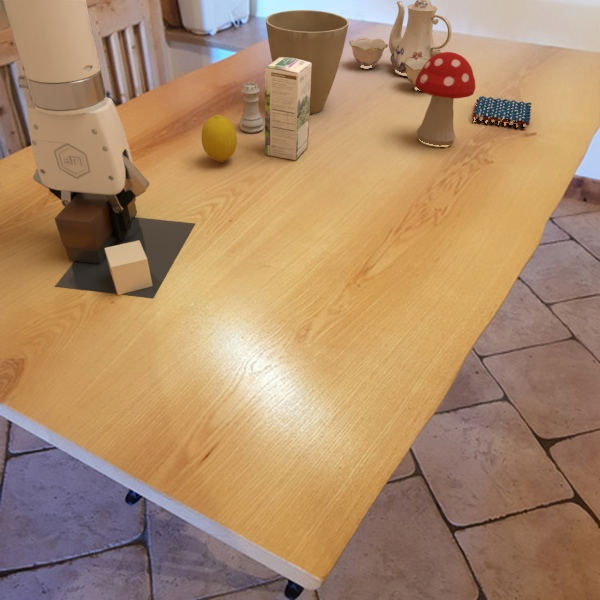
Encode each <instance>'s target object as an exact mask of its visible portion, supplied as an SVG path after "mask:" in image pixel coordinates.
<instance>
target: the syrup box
mask: <svg viewBox="0 0 600 600" xmlns="http://www.w3.org/2000/svg"><path fill="white" fill-rule="evenodd" d="M271 62H272V61H271ZM311 67H312V63H310V62H307V61H304V60H300V59H295V58H286V57H279V58H278V59H277V60H275V61H274V62H272V63H270V64H268V65H267V66H265V67H264V154H265V155H266V156H269V157H275V158H281V159H284V160H285V159H286V160H292V161H297V160H298V159H299V158H300V156H301V155H303V154H304V152H305V151H306V150H307V149H308V147H309V132H310V114H309V113H310V90H311Z"/></svg>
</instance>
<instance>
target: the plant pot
mask: <svg viewBox="0 0 600 600" xmlns="http://www.w3.org/2000/svg"><path fill="white" fill-rule="evenodd" d="M349 23H350V22H349V20H348V19H347V18H345V17H344V16H342V15H339V14H336V13H334V12H333V13H332V12H328V11H322V10H314V9H313V10H312V9H295V10H294V9H293V10H284V11H279V12H274V13H272V14H270V15H268V16H267V17H266V18H265V26H266V32H267V40H268V47H269V53H270V58H271V62H274V61H275V60H277V59H278V58H279V57H286V58H295V59H300V60H304V61H307V62H310V63H312V67H311V90H310V113H309V115H314V114H318V113H320V112H321V111H322V110H323V109H324V106H325V104H326V103H327V100H328V98H329V95H330V92H331V90H332V87H333V84H334V83H335V79H336V75H337V73H338V69H339V66H340V63H341V59H342V55H343V51H344V47H345V43H346V39H347V33H348V27H349V25H350V24H349Z"/></svg>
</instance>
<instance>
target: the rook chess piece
mask: <svg viewBox="0 0 600 600" xmlns="http://www.w3.org/2000/svg"><path fill="white" fill-rule="evenodd" d="M240 90H241V93H242V94H243V98H242V101H243V114H242V115H241V118H240V121H239V123H240V125H239V128H240V130H241V131H242V132H244V133H246V134H257V133H260V132H262V131H263V130H264V129H265V124H264V123H265V119H264V118H263V117H262V114H261V112H260V108H259V100H260V97H258V94H259V93H260V91H261V89H260V88H259V86H258V83H256V82H252V81H251V83H250V82H249V81H247V82H246V83H245V82H244V83H243V84H242V88H241V89H240Z"/></svg>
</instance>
